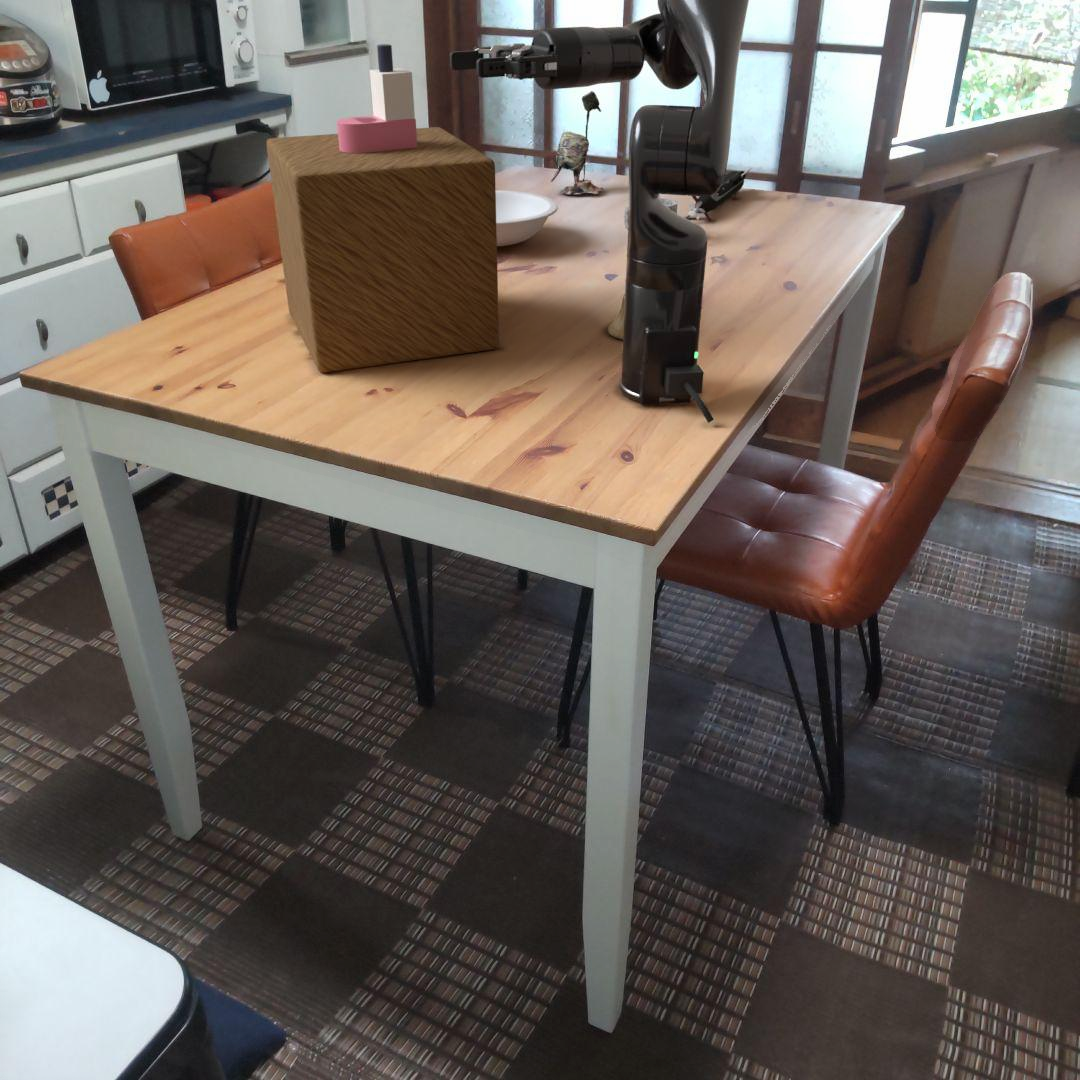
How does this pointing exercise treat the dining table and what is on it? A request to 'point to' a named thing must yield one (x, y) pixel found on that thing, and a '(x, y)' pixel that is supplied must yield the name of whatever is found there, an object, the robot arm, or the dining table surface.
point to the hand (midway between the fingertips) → (464, 64)
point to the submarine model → (718, 194)
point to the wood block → (387, 248)
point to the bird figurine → (577, 152)
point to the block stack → (383, 112)
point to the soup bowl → (520, 215)
